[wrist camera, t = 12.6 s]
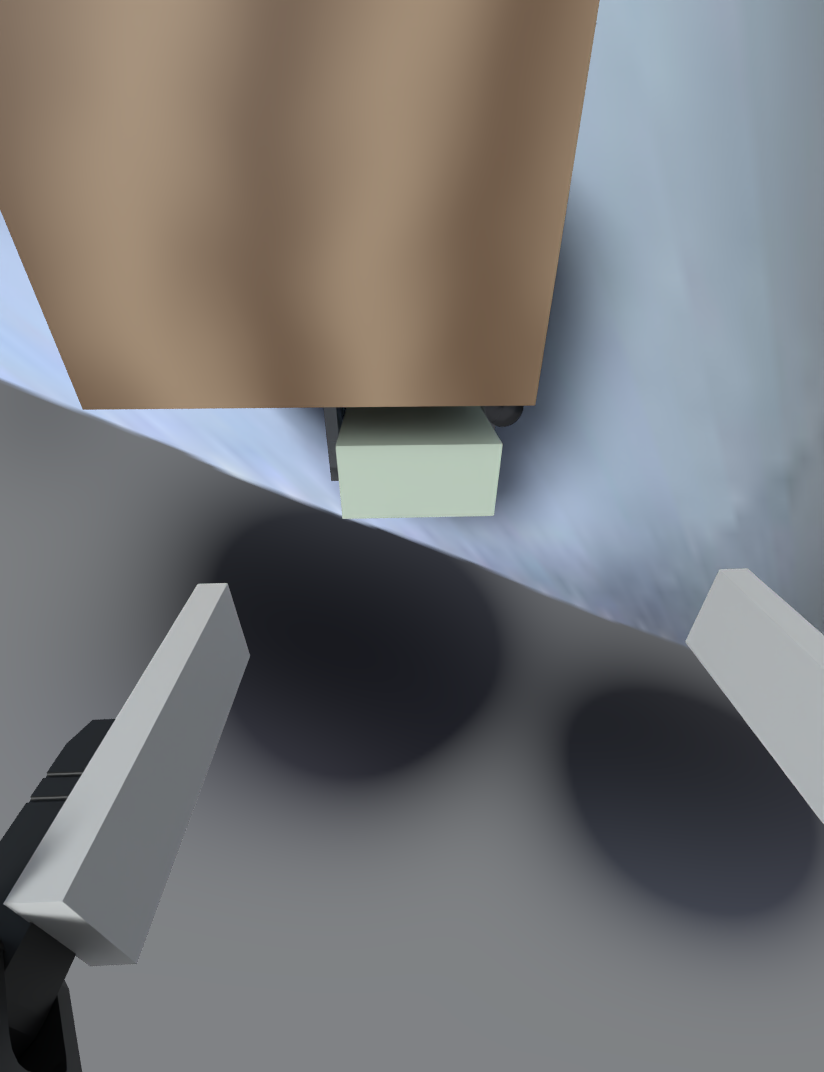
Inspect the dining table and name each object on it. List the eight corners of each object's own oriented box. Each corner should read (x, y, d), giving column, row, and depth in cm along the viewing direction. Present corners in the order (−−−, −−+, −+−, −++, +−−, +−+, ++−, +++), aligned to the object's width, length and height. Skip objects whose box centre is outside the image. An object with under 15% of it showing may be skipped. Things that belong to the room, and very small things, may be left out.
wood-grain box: (488, 81, 22) (625, -163, 9) (470, 339, 28) (535, 405, 16) (165, 74, 21) (-169, -198, 8) (222, 340, 28) (83, 409, 15)
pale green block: (467, 386, 30) (502, 443, 21) (462, 454, 33) (491, 531, 23) (352, 387, 30) (335, 446, 20) (357, 455, 32) (344, 534, 23)
